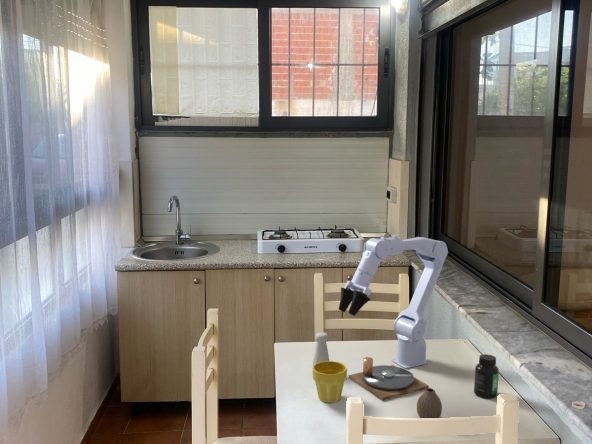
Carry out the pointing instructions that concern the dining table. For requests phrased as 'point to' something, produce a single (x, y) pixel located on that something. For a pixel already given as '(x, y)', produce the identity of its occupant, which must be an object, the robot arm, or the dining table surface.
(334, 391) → the plant pot
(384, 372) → the crank wheel
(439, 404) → the vase
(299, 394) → the dining table surface
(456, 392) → the dining table surface
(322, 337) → the salt shaker
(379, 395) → the base
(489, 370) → the supplement bottle
